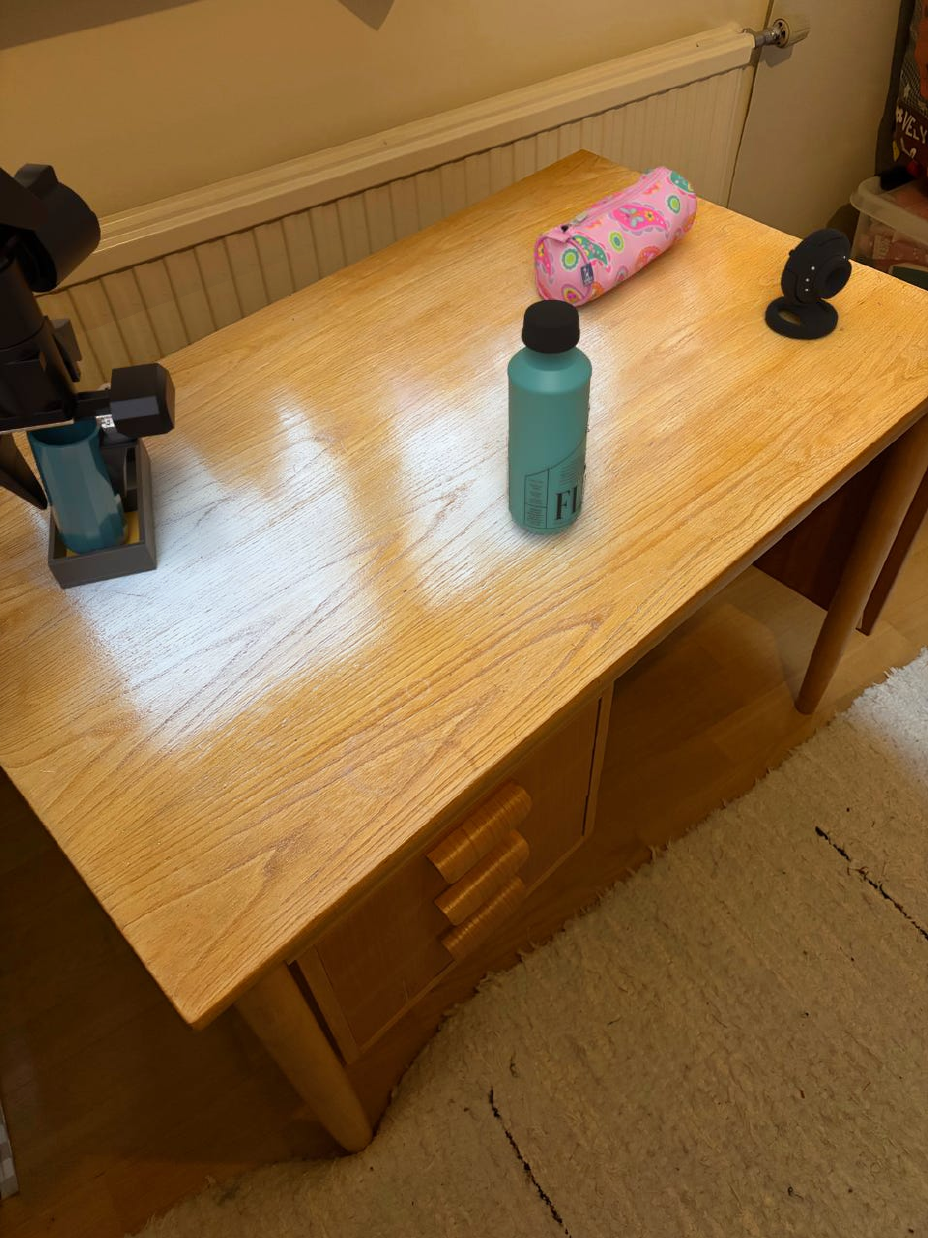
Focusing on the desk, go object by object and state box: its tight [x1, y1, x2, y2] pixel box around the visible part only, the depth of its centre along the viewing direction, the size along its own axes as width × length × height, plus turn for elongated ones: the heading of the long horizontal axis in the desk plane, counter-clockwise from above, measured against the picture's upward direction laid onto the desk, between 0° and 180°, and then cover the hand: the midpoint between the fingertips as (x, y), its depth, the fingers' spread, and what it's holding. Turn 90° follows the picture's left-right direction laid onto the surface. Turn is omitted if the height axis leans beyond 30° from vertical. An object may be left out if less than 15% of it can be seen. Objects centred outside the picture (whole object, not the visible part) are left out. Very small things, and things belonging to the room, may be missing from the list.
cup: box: [25, 418, 128, 554], centre depth 70 cm, size 5×5×11 cm
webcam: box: [764, 227, 853, 340], centre depth 90 cm, size 8×8×10 cm
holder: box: [47, 438, 157, 590], centre depth 77 cm, size 15×8×3 cm, turn 15°
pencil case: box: [533, 165, 698, 308], centre depth 99 cm, size 21×9×9 cm, turn 136°
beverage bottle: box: [505, 299, 593, 534], centre depth 68 cm, size 6×7×20 cm
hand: (85, 500), depth 72 cm, fingers closed on cup, 6 cm apart
